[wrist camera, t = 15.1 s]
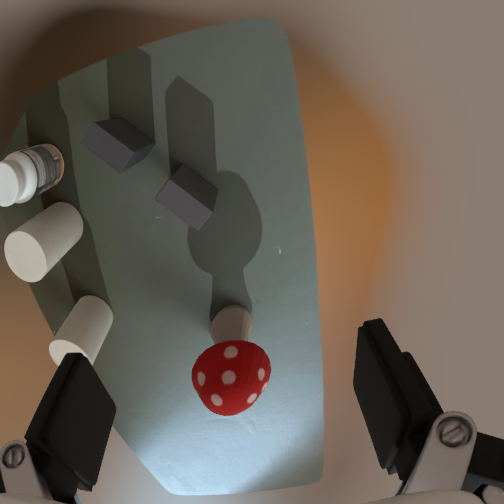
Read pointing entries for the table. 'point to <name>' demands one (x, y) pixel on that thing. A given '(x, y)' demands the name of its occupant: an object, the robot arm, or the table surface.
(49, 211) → the white cylinder
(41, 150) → the pill bottle
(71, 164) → the table surface
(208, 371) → the decorative mushroom
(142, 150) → the dark grey block
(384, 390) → the robot arm
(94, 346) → the white cylinder
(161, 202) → the dark grey rectangular block
